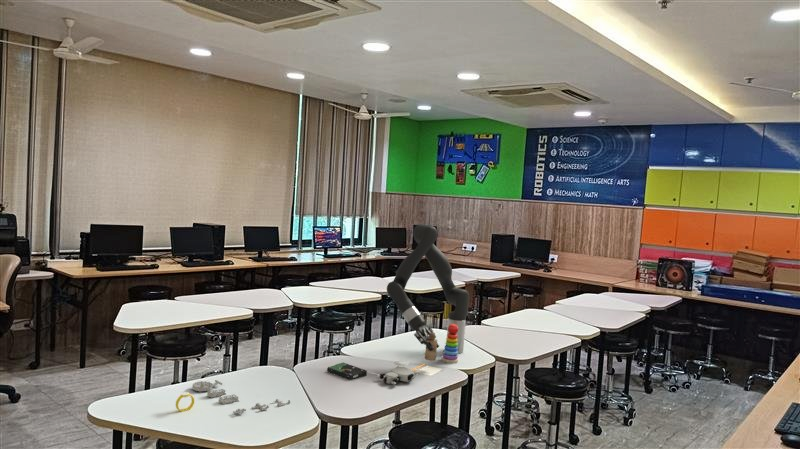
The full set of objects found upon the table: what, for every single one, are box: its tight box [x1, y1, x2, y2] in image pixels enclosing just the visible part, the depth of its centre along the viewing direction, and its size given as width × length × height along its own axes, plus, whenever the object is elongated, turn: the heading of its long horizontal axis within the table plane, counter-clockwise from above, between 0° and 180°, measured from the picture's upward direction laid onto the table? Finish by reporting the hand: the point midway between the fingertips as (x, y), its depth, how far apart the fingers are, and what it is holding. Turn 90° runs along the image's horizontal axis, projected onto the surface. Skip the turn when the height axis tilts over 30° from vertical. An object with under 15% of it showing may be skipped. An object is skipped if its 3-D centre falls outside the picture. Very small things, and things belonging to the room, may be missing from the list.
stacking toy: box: [441, 324, 459, 364], centre depth 262 cm, size 8×8×19 cm
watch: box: [175, 391, 195, 412], centre depth 184 cm, size 6×3×6 cm, turn 136°
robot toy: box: [376, 365, 419, 386], centre depth 229 cm, size 12×4×15 cm
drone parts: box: [191, 379, 291, 415], centre depth 200 cm, size 23×35×3 cm, turn 47°
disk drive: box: [326, 362, 368, 381], centre depth 234 cm, size 10×3×15 cm
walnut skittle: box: [424, 332, 438, 361], centre depth 245 cm, size 5×5×12 cm
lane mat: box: [393, 360, 443, 377], centre depth 248 cm, size 15×25×1 cm, turn 60°
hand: (434, 348), depth 244 cm, fingers closed on walnut skittle, 5 cm apart
